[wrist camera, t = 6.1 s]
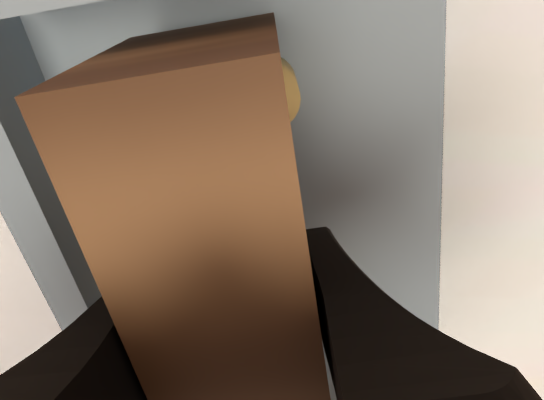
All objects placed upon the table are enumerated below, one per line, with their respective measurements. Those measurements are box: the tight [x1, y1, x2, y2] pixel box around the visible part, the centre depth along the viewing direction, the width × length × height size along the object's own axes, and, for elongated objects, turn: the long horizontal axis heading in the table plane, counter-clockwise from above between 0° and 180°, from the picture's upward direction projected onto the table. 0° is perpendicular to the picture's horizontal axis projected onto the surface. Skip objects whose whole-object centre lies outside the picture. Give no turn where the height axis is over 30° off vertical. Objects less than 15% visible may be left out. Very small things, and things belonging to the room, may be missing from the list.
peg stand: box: [0, 0, 446, 400], centre depth 14 cm, size 18×14×6 cm
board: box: [14, 12, 331, 400], centre depth 12 cm, size 12×4×6 cm, turn 9°
